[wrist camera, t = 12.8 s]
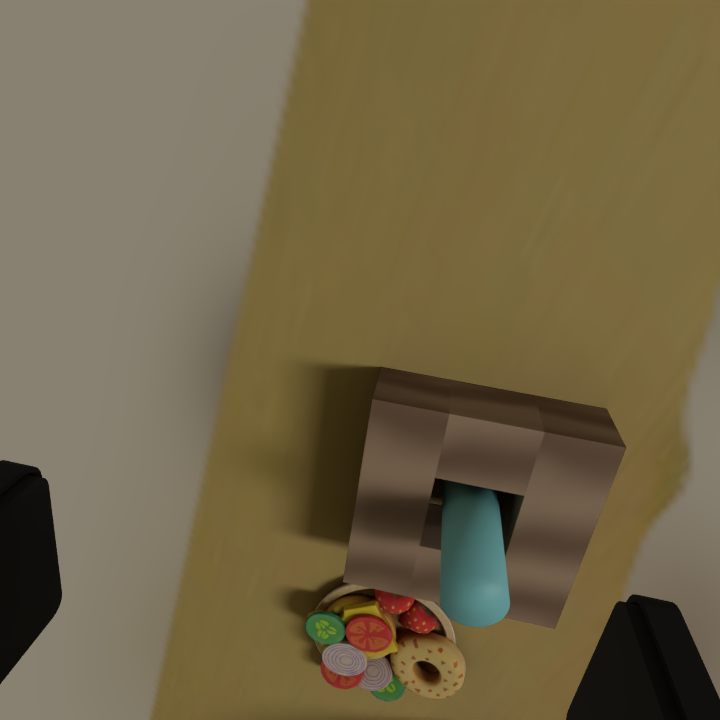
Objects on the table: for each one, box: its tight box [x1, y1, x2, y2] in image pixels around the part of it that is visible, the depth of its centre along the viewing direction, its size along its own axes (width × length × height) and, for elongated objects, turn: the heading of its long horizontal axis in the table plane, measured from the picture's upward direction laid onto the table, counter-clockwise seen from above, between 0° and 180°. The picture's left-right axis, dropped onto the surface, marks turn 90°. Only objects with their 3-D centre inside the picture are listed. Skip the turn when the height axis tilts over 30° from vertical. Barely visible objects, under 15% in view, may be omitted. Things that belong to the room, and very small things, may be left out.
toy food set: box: [305, 583, 466, 701], centre depth 50 cm, size 13×13×3 cm
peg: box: [439, 480, 510, 627], centre depth 38 cm, size 4×4×12 cm
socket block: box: [343, 367, 626, 629], centre depth 41 cm, size 16×16×5 cm
